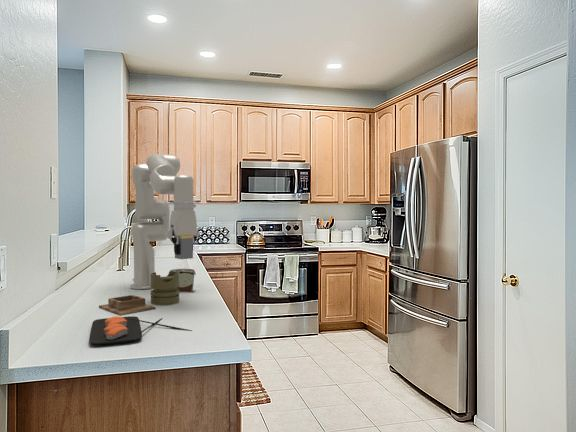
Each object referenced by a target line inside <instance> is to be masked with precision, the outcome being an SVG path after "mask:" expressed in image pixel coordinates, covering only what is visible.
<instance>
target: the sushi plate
mask: <svg viewBox="0 0 576 432" xmlns="http://www.w3.org/2000/svg"><path fill="white" fill-rule="evenodd" d="M162 320H163V318H159V319H158V320H156V321H155V322H150V321H146V320H141V319H139V317H138V316H135V315H134V316H119V315H118V316H116V315H115V316H112V317H108V318H98V319H94V320H93V322H92V324H91V329H90V332H89V333H90V334H89V340H88V341H89V344H91V345H109V344H110V345H111V344H121V343H128V342H134V341H139V340H141V339H142V337H143V332H145V331H146V330H148V329H150V328H152V327H153V326H159V327H165V328H168V329H172V330H173V329H174V330H178V331H185V332H186V331H188V332H189V331H190V332H193V330H191V329H187V328H182V327H178V326H177V327H176V326H172V325H167V324H162V323H160V322H161V321H162ZM141 323H147V324H151V325H149V326H148V327H146V328H144V329H143V330H142V327H141Z"/></svg>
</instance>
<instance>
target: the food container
mask: <svg viewBox="0 0 576 432" xmlns="http://www.w3.org/2000/svg"><path fill="white" fill-rule="evenodd" d="M169 271H176V272H179V287H178V288H177V289H179V293H193V292H194V283H195V282H194V281H195V275H196V271H195V269H193V268H174V269H170V270H169Z"/></svg>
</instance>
